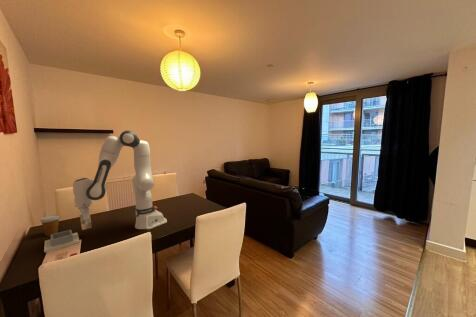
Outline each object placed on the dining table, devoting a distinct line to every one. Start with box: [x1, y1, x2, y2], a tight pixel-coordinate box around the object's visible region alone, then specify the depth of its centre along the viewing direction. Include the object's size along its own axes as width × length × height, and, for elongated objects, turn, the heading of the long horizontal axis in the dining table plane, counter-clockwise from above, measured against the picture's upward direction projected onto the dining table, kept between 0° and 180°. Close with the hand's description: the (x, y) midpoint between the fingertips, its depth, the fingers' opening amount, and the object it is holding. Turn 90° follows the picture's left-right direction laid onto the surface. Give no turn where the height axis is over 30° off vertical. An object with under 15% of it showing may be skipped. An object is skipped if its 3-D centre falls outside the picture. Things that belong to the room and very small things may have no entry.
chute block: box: [79, 214, 92, 231], centre depth 133 cm, size 5×5×9 cm
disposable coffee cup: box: [40, 214, 60, 237], centre depth 137 cm, size 10×10×12 cm
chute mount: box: [43, 229, 80, 254], centre depth 125 cm, size 16×15×6 cm
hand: (86, 222), depth 133 cm, fingers closed on chute block, 5 cm apart
